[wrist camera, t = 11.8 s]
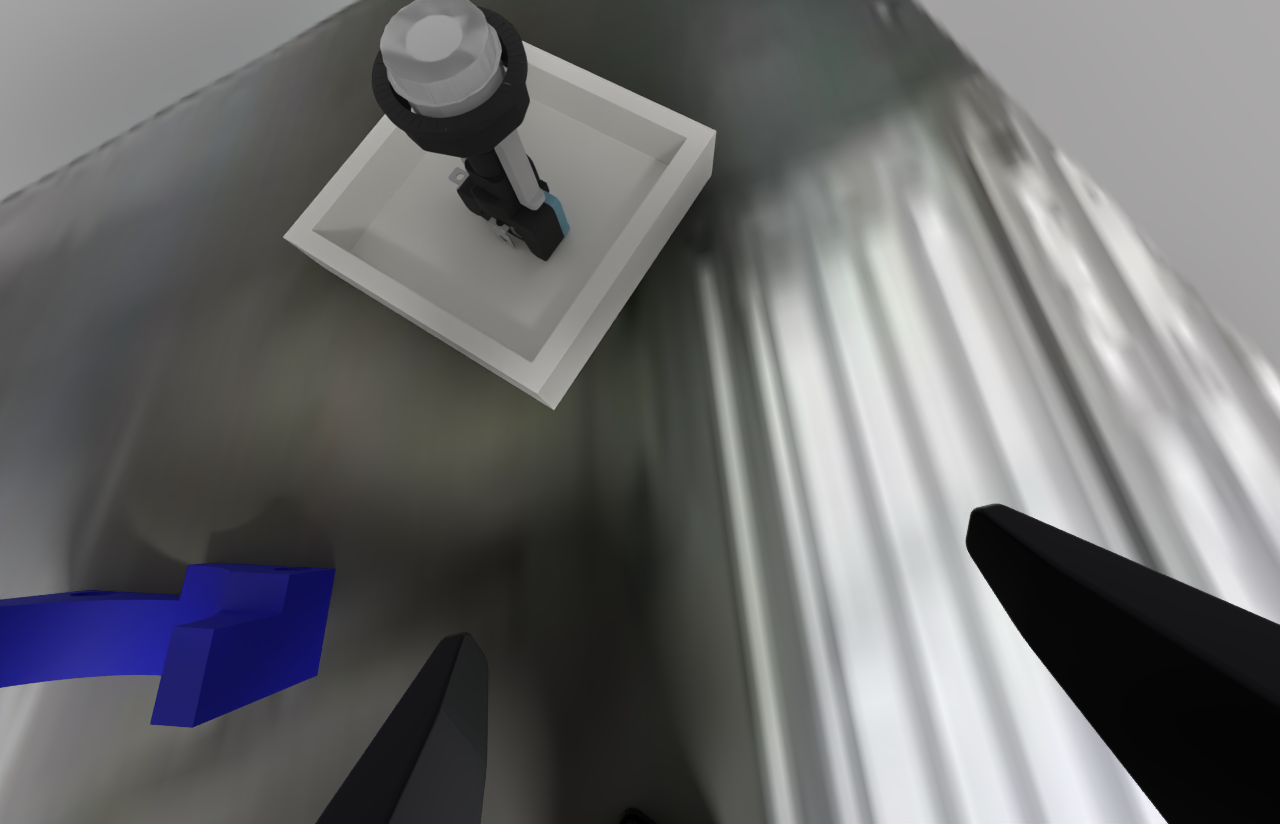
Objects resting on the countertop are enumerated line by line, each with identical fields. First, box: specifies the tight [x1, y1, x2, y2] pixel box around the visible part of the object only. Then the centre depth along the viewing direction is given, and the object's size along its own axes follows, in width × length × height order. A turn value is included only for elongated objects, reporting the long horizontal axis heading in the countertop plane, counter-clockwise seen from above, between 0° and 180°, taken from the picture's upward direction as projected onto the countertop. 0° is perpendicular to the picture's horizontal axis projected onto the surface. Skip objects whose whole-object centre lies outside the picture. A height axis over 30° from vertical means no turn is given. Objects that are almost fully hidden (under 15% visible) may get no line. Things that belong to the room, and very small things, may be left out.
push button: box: [372, 0, 570, 261], centre depth 21 cm, size 7×5×10 cm
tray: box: [283, 41, 716, 410], centre depth 25 cm, size 15×15×3 cm
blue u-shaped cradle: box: [0, 563, 335, 728], centre depth 20 cm, size 12×4×6 cm, turn 88°
